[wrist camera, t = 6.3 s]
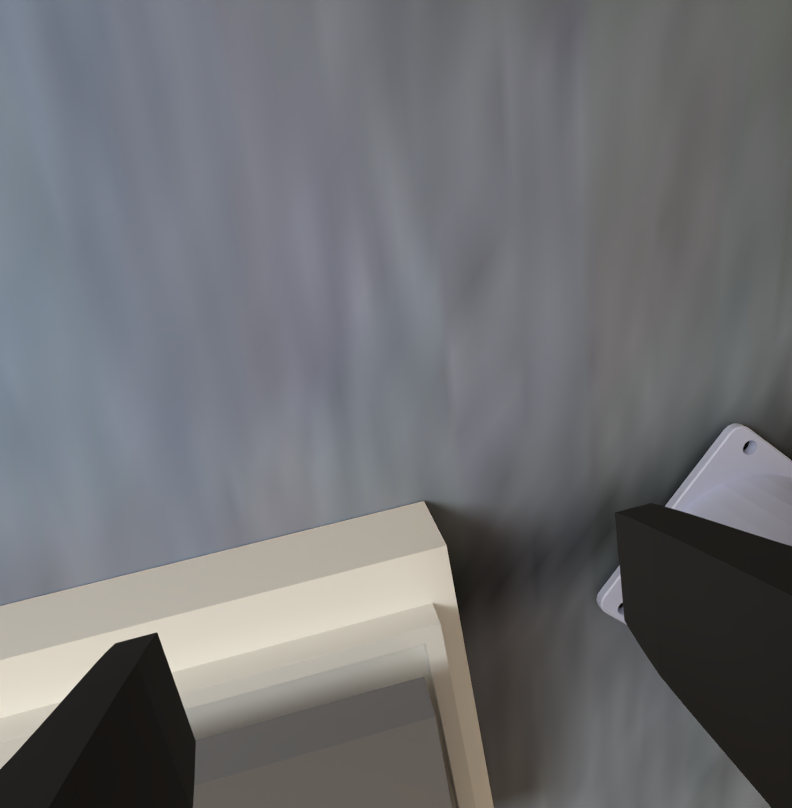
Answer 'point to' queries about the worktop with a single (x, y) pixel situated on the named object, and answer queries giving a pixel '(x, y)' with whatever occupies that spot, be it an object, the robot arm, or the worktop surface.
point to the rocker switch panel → (267, 634)
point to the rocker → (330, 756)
